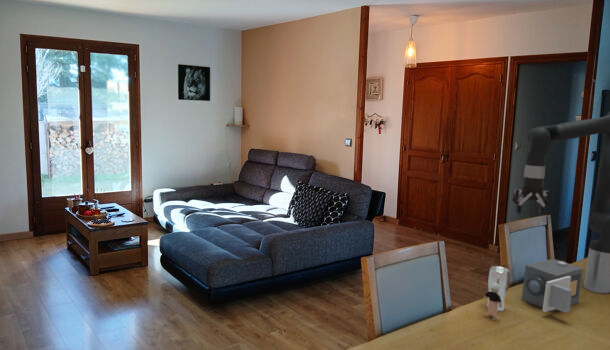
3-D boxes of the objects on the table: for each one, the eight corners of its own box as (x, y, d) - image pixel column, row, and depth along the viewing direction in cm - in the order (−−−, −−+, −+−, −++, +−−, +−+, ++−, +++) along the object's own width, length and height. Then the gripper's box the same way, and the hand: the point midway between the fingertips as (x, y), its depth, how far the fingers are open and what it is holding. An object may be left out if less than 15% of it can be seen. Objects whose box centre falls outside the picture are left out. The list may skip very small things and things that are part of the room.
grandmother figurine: (504, 319, 159) (508, 285, 157) (498, 322, 156) (502, 287, 154) (484, 311, 165) (488, 278, 163) (478, 313, 162) (482, 280, 160)
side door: (564, 303, 169) (568, 275, 168) (583, 311, 163) (588, 282, 162) (542, 311, 162) (546, 281, 161) (561, 319, 156) (565, 289, 155)
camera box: (548, 291, 186) (553, 256, 184) (579, 302, 176) (584, 266, 173) (517, 300, 175) (521, 263, 173) (547, 313, 165) (552, 274, 163)
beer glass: (505, 306, 170) (510, 268, 168) (505, 313, 164) (510, 274, 161) (486, 302, 173) (490, 264, 170) (484, 309, 166) (489, 270, 164)
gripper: (547, 175, 190) (542, 213, 193) (512, 174, 191) (508, 211, 194) (556, 178, 183) (551, 217, 185) (519, 176, 184) (515, 215, 186)
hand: (529, 214), depth 190 cm, fingers open, 8 cm apart
